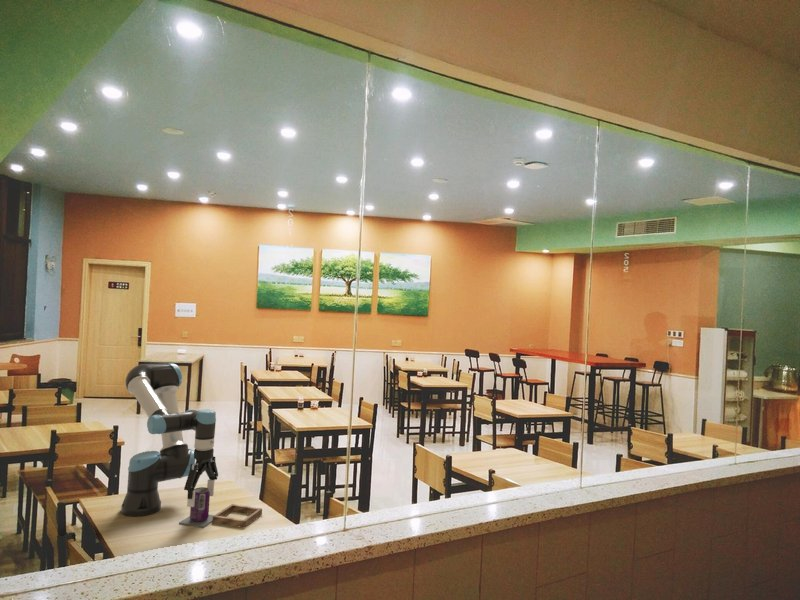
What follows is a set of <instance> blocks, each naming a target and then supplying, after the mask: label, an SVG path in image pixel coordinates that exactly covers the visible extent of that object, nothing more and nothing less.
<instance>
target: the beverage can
mask: <svg viewBox="0 0 800 600" xmlns="http://www.w3.org/2000/svg"><path fill="white" fill-rule="evenodd" d="M194 490H195V503H194V507H190V510H189V511H190V512H189V516H190V519H191V520H193V521H195V522H200V521H204V520H205V519H207V518H208V516H209V515H210V514H209V513H210V501H211V499H210V497H211V496H210V492H209V488H207V486H206V487H205V486H204V487H203V486H200V487H195V488H194Z"/></svg>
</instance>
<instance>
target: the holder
mask: <svg viewBox="0 0 800 600" xmlns="http://www.w3.org/2000/svg"><path fill="white" fill-rule="evenodd" d="M232 512H237V513H241V512H243V513H242V514H247V513H248V514H249V515H248V516H247V517H246V518H244V519H240V518H234V517H228V516H229V514H231V513H232ZM262 514H263V508H261V507H256V506H255V507H254V506H247V505H241V504H240V505H239V504H236V503H235V504H234V503H231V504H229V505H228V506H227V507H225V508H223V509H222V510H220V511H218V512H217V513H215V514H213V515H214V516H213V521H212V523H211V524H220V525H224V526H225V525H226V526H231V525H232V527H237V526H240V527H239V528H243V527H245V528H246V527H247V526H249V525H250V524H252V521H253V522H254V521H255V520H257V519H258V518H260V517H261V516H263V515H262ZM256 518H257V519H256ZM248 524H249V525H248Z"/></svg>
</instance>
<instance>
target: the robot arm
mask: <svg viewBox="0 0 800 600" xmlns="http://www.w3.org/2000/svg"><path fill="white" fill-rule="evenodd" d="M182 382H183V373H182V371H181V368H180V366H179V365H177V364H176V363H172V362H171V363H170V362H169V363H168V362H165V363H164V362H163V363H141V364H138V365H136V366H134V367H133V368H132V369H130V370H129V372H128V373H127V375H126V377H125V382H124V383H125V388H126V389H127V391H128V393H130V394H131V395H133V396H134V397H135V399H136V401H137V402H138V404H139V406H141V407H140V408H141V409H142V410H143V412H144V413H145V414H146V415H145V416H146V417H148V419H147V421H146V422H147V423H146V427H147V431H148V433H149V434H151V435H161V436H160V437H161V441H162V448H160V450H159V451H157V450H151V451H150V450H146V451H142V452H139V453H136V454H134V455H133V456H131V458H130V459H129V465H128V468H127V471H128V474H127V475H128V476H127V486H126V487H127V488H126V489H127V490H126V494H125V497H124V499H123V502H122V504H121V506H120V507H121V508H120V512H121V514H122V515H125V516H129V517H140V516H141V517H142V516H143V517H144V516H146V515H147V516H148V515H151V514H154V513H156V512H158V511H160V510H161V508H162V501H161V499H160V494H159V490H158V487H159V483H160V482H166V481H171V480H176V479H182V478H185V477H187V478H186V481H185V485H184V488H183V490H184V491H187V497H186V498H187V502H186V503H187V504H186V506H187V507H189V508H191V507H194V503H195V490H194V489H195V488H196V486H197V484H198V482H199V479H200V477H201V475H203V473H204V472H205V473H206V474H207V477H208V478H209V479H207V485H206V488H209V492H210V497H214V493H215V492H214V491H215V481H216V480H218V476H219V472H218V467H217V463H216V456H214V450H215V449H214V447H215V435H216V422H217V417H216V415H217V413H216V411H215V410H214V409H210V408H209V409H208V408H207V409H205V408H204V409H199V410H195V409H187V410H186V411H183V412H180V411H179V406H178V398H177V394H176V393H177V392H178V390H179V387H180V386H181V385H182ZM191 430H192V431H195V434H194V446H193V447H194V449H192V448H189V445H188V443H186V442H185V441H184V437H183V431H184V432H185V431H191Z"/></svg>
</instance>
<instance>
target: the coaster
mask: <svg viewBox="0 0 800 600" xmlns="http://www.w3.org/2000/svg"><path fill="white" fill-rule="evenodd" d="M214 515H215V514H209V516H208V518H207V519H205V520H204V521H200V522H195V521H193V520H191V519H190V515H189V516H187V517H186V518H184V519H182V520H181V521H179V522H178V524H179V525H183V526H187V527H196V528H199V529H200V528H201V529H204V528H206V527H207V526H209V525H210V524H213V523H212V521H213V516H214Z"/></svg>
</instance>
